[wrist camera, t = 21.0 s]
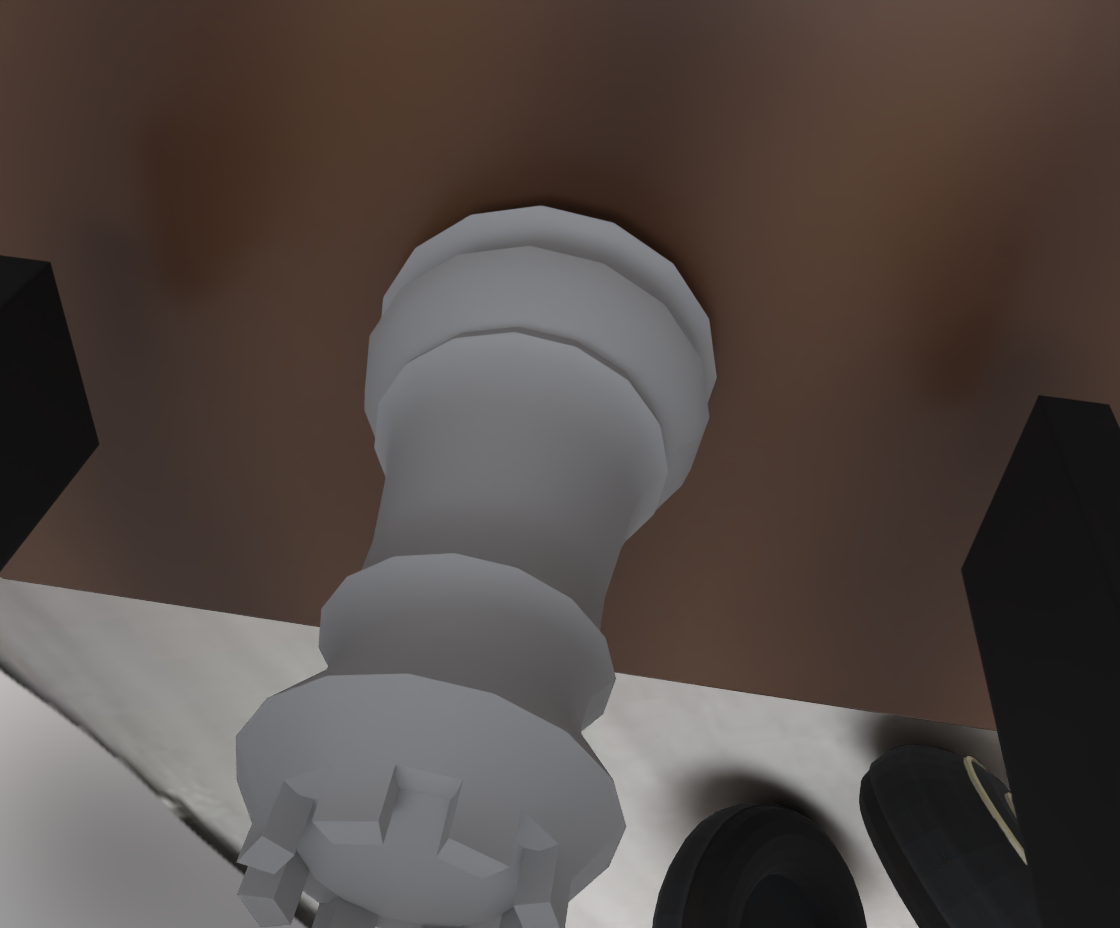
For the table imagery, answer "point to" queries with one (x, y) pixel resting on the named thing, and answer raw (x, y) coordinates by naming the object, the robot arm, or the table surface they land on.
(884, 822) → the headphones
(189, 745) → the table surface
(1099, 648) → the robot arm
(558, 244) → the rook chess piece
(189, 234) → the chest lid
